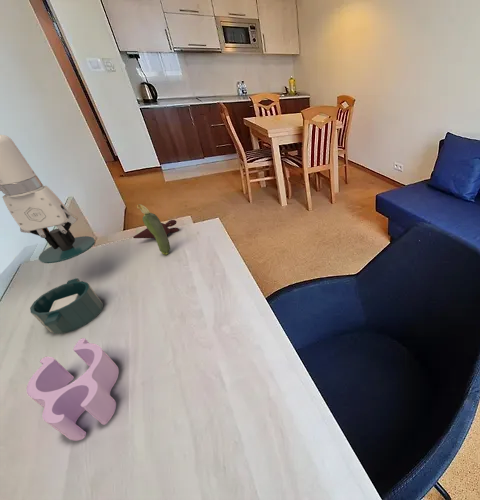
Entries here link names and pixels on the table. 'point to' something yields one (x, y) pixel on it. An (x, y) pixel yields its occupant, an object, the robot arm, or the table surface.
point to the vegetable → (155, 229)
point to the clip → (75, 390)
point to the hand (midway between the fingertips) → (64, 244)
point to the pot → (67, 307)
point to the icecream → (148, 234)
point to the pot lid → (65, 248)
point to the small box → (64, 302)
